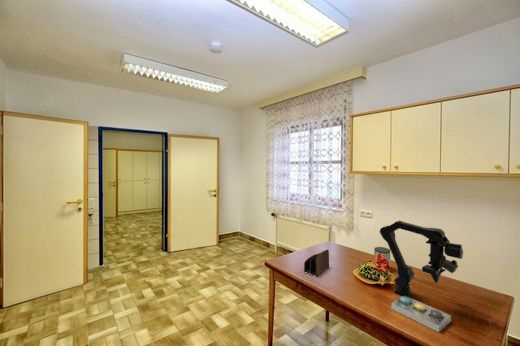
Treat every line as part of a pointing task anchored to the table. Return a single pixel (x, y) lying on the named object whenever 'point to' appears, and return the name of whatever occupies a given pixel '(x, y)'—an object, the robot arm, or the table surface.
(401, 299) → the button teal
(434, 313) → the button black
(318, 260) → the letter holder
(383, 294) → the table surface
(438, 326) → the console panel
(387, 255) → the coffee can
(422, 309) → the button mustard
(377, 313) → the table surface
